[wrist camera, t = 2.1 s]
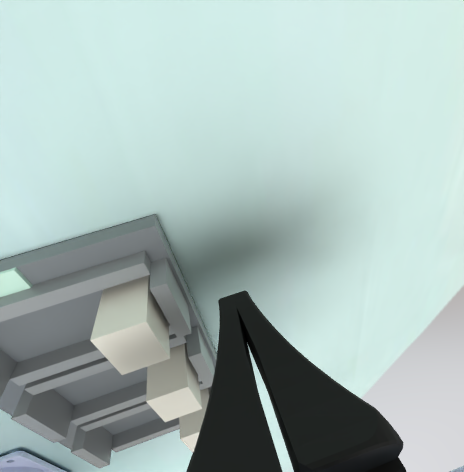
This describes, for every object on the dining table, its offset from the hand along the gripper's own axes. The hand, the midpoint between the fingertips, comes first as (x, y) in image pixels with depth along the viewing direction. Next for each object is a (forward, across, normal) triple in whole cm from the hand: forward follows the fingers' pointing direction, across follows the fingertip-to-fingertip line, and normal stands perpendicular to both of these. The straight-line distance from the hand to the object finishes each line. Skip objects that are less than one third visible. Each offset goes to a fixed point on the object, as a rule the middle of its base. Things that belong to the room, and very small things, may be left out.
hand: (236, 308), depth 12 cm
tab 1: (+3, +5, 0) cm, 6 cm away
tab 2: (+3, +5, +6) cm, 8 cm away
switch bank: (+4, +10, +6) cm, 12 cm away
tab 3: (+3, +5, +12) cm, 13 cm away
